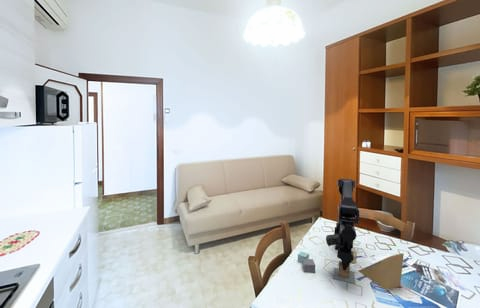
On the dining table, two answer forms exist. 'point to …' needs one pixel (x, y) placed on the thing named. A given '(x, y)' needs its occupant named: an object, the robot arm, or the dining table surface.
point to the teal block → (302, 256)
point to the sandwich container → (386, 272)
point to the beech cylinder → (354, 256)
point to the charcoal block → (308, 265)
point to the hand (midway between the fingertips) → (344, 264)
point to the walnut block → (343, 271)
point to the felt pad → (350, 279)
